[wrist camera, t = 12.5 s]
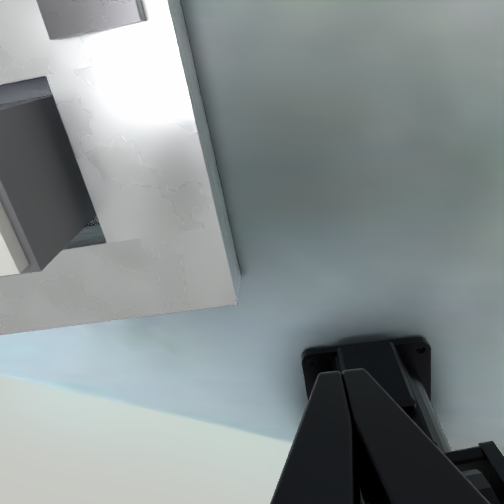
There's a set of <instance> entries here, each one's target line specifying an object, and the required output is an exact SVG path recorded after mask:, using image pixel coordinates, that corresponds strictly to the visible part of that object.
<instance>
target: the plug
mask: <svg viewBox="0 0 504 504" xmlns="http://www.w3.org/2000/svg"><path fill="white" fill-rule="evenodd" d="M95 216H96V212H95V209H94V207H93V204H92V201H91V198H90V196H89V193H88V190H87V187H86V185H85V182H84V179H83V176H82V174H81V171H80V168H79V165H78V163H77V160H76V157H75V154H74V152H73V149H72V146H71V143H70V141H69V138H68V135H67V133H66V130H65V127H64V124H63V122H62V119H61V116H60V113H59V111H58V108H57V105H56V102H55V100H54V97H53V95H50V96H44V97H39V98H34V99H28V100H23V101H18V102H12V103H7V104H2V105H0V277H4V276H11V275H18V274H25V273H32V272H40V271H42V270H43V269H44V268H45V267H46V266H47V265H48V264H49V263H50V262H51V261H52V260H53V259H54V258H55V257H56V256H57V255H58V254H59V253H60V252H61V251H62V250H63V249H64V248H65V247H66V246H67V245H68V244H69V242H70V241H71V240H72V239H73V238H74V237H75V236H76V235H77V234H78V233H79V232H80V231H81V230H82V229H83V228H84V227H85V226H86V225H87V224H88V223H89V222H90V221H91V220H92V219H93V218H94V217H95Z"/></svg>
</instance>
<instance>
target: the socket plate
mask: <svg viewBox="0 0 504 504" xmlns="http://www.w3.org/2000/svg"><path fill="white" fill-rule="evenodd" d="M45 76H46V78H47V80H48V83H49V86H50V89H51V91H52V94H53V97H54V100H55V102H56V105H57V108H58V111H59V113H60V116H61V119H62V122H63V124H64V127H65V130H66V133H67V135H68V138H69V141H70V143H71V146H72V149H73V152H74V154H75V157H76V160H77V163H78V165H79V168H80V171H81V174H82V176H83V179H84V182H85V185H86V187H87V190H88V193H89V196H90V198H91V201H92V204H93V207H94V209H95V212H96V215H97V217H98V220H99V223H100V225H95V226H89V227H84V228H83V229H82V230H81V231H80V232H79V233H78V234H77V235H76V236H75V237H74V238H73V239H72V240H71V241H70V242H69V244H68V245H67V246H66V247H65V248H64V249H63V250H62V251H61V252H60V253H59V254H58V255H57V256H56V257H55V258H54V259H53V260H52V261H51V262H50V263H49V264H48V265H47V266H46V267H45V268H44V269H43V270H42V271H40V272H32V273H25V274H18V275H11V276H4V277H0V335H5V334H12V333H20V332H28V331H35V330H43V329H51V328H59V327H66V326H74V325H82V324H89V323H97V322H105V321H112V320H120V319H128V318H135V317H143V316H151V315H158V314H166V313H174V312H181V311H189V310H197V309H204V308H212V307H220V306H227V305H235V304H238V297H239V290H240V282H241V274H240V269H239V265H238V260H237V256H236V251H235V247H234V242H233V238H232V233H231V229H230V224H229V220H228V215H227V210H226V206H225V201H224V197H223V192H222V188H221V183H220V179H219V174H218V170H217V165H216V161H215V156H214V152H213V147H212V143H211V138H210V134H209V129H208V125H207V120H206V115H205V111H204V106H203V102H202V97H201V93H200V88H199V84H198V79H197V75H196V70H195V66H194V61H193V57H192V52H191V48H190V43H189V39H188V34H187V30H186V25H185V20H184V16H183V11H182V7H181V2H180V0H0V85H5V84H10V83H15V82H20V81H25V80H30V79H35V78H40V77H45Z"/></svg>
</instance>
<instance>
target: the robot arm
mask: <svg viewBox="0 0 504 504" xmlns="http://www.w3.org/2000/svg"><path fill="white" fill-rule="evenodd" d="M418 346H422V347H421V348H419V349H416V348H417V347H418ZM310 358H314V360H312V361H309V360H308V359H310ZM301 359H302V367H303V373H304V379H305V385H306V391H307V397H308V403H307V406H306V409H305V411H304V414H303V417H302V419H301V422H300V425H299V427H298V430H297V433H296V436H295V438H294V441H293V444H292V446H291V449H290V452H289V454H288V458H287V460H286V463H285V465H284V468H283V471H282V473H281V476H280V479H279V482H278V484H277V487H276V489H275V492H274V495H273V498H272V500H271V503H270V504H504V456H503V455H502V453H501V452H500V451H499V449H498V448H497V446H496V445H495V444H494V442H493V441H489V442H484V443H479V444H478V445H479V446H477V447H472V448H467V449H461V450H456V451H451V449H450V446H449V444H448V442H447V439H446V437H445V435H444V432H443V430H442V428H441V425H440V423H439V421H438V419H437V416H436V414H435V412H434V409H433V407H432V405H431V348H430V345H429V343H428V341H427V340H426V339H425V338H423V337H413V338H405V339H396V340H387V341H379V342H370V343H362V344H353V345H344V346H336V347H327V348H318V349H310V350H306V351H305V352H303V354H302V357H301Z"/></svg>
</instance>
